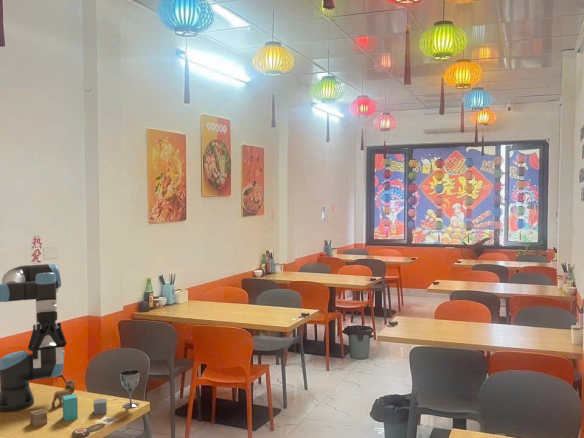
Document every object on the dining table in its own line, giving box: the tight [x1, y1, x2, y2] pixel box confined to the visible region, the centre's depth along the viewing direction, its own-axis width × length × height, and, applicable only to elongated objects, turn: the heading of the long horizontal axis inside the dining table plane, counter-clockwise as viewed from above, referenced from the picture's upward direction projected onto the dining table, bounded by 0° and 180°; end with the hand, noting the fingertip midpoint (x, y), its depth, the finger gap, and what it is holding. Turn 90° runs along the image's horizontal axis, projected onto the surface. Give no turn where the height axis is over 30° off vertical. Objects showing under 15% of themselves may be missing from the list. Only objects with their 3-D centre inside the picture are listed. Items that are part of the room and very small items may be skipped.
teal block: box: [62, 393, 79, 422], centre depth 227 cm, size 5×5×9 cm
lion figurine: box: [51, 379, 76, 409], centre depth 244 cm, size 15×5×9 cm, turn 170°
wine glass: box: [120, 369, 140, 410], centre depth 240 cm, size 8×8×15 cm
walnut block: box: [29, 408, 48, 428], centre depth 222 cm, size 5×5×5 cm
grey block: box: [93, 397, 108, 416], centre depth 233 cm, size 5×5×5 cm
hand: (48, 365), depth 213 cm, fingers open, 13 cm apart
